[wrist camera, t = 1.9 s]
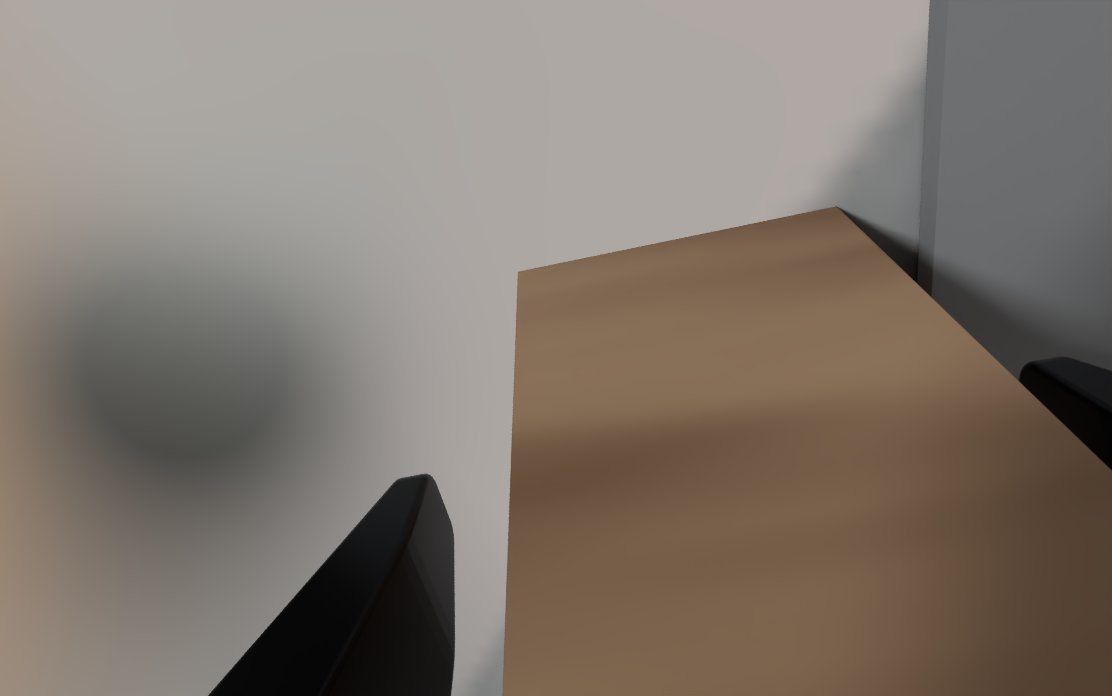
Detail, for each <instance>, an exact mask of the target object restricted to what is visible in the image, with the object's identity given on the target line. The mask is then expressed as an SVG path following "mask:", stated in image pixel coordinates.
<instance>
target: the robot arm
mask: <svg viewBox="0 0 1112 696" xmlns="http://www.w3.org/2000/svg"><path fill="white" fill-rule="evenodd" d="M1019 382H1020V383H1021V384H1022V385H1023V386H1024V387H1025V388H1026V389H1027V390H1028V391H1029V392H1030V393H1031V394H1032V395H1034V396H1035V397H1036V398H1037V399H1038V400H1039V401H1040V402H1041V403H1042V404H1043V405H1044V406H1045V407H1046V408H1047V409H1048V410H1049V411H1050V412H1051V413H1052V414H1053V415H1054V416H1055V417H1056V418H1057V419H1059V420H1060V421H1061V422H1062V423H1063V424H1064V425H1065V426H1066V427H1067V428H1068V429H1069V430H1070V431H1071V432H1072V433H1073V434H1074V435H1075V436H1076V437H1077V438H1078V439H1079V440H1080V441H1081V442H1082V443H1084V444H1085V445H1086V446H1087V447H1088V448H1089V449H1090V450H1091V451H1092V452H1093V453H1094V454H1095V455H1096V456H1097V457H1098V458H1099V459H1100V460H1101V461H1102V462H1103V463H1104V464H1105V465H1106V466H1107V467H1109V468H1110V469H1111V470H1112V371H1111V370H1108V369H1105V368H1102V367H1098V366H1095V365H1092V364H1089V363H1086V362H1083V361H1080V360H1076V359H1073V358H1070V357H1066V356H1058V357H1052V358H1047V359H1042V360H1036V361H1031V362H1029V363H1027V364H1025V365H1024V366H1023V368H1022V370H1021V372H1020V376H1019ZM454 595H455V593H454V534H453V528H452V524H451V521H450V518H449V516H448V513H447V510H446V508H445V505H444V503H443V500H442V498H441V495H440V492H439V490H438V487H437V485H436V482H435V480H434V479H433V477H432V476H430V475H428V474H421V475H416V476H410V477H405V478H400V479H398V480H396V481H395V482H394V483H393V485H391V487H390V488H389V489H388V490H387V491H386V492H385V493H384V495H383V496H382V497H381V498H380V499H379V500H378V502H377V503H376V504H375V505H374V506H373V507H372V508H371V510H370V511H369V512H368V513H367V514H366V515H365V516H364V518H363V519H362V520H361V521H360V522H359V523H358V524H357V526H356V527H355V528H354V529H353V530H352V531H351V533H350V534H349V535H348V536H347V537H346V538H345V539H344V541H343V542H342V543H341V544H340V545H339V546H338V548H336V550H335V551H334V552H333V553H332V554H331V555H330V557H329V558H328V559H327V560H326V561H325V562H324V563H323V565H322V566H321V567H320V568H319V569H318V570H317V572H316V573H315V574H314V575H313V576H312V577H311V578H310V579H309V581H308V582H307V583H306V584H305V585H304V586H303V588H302V589H301V590H300V591H299V592H298V593H297V594H296V595H295V597H294V598H293V599H292V600H291V601H290V602H289V603H288V605H287V606H286V607H285V608H284V609H283V611H282V612H281V613H280V614H279V615H278V616H277V617H276V618H275V620H274V621H273V622H272V623H271V624H270V625H269V626H268V628H267V629H266V630H265V631H264V632H263V633H262V634H261V636H260V637H259V638H258V639H257V640H256V641H255V643H254V644H253V645H252V646H251V647H250V648H249V649H248V650H247V652H246V653H245V654H244V655H243V656H242V657H241V659H240V660H239V661H238V662H237V663H236V664H235V665H234V667H233V668H232V669H231V670H230V671H229V672H228V673H227V675H226V676H225V677H224V678H223V679H222V680H221V681H220V683H219V684H218V685H217V686H216V687H215V688H214V689H213V691H212V692H211V693H210V694H209V695H208V696H451V690H452V681H453V670H454V657H455V656H454V655H455V602H454V601H455V600H454V597H455V596H454Z"/></svg>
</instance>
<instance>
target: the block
mask: <svg viewBox="0 0 1112 696" xmlns="http://www.w3.org/2000/svg"><path fill="white" fill-rule="evenodd" d="M512 425H513V426H512V451H511V479H510V506H509V508H510V509H509V532H508V563H507V587H506V615H505V642H504V669H503V696H1112V470H1111V469H1110V468H1109V467H1107V466H1106V465H1105V464H1104V463H1103V462H1102V461H1101V460H1100V459H1099V458H1098V457H1097V456H1096V455H1095V454H1094V453H1093V452H1092V451H1091V450H1090V449H1089V448H1088V447H1087V446H1086V445H1085V444H1084V443H1082V442H1081V441H1080V440H1079V439H1078V438H1077V437H1076V436H1075V435H1074V434H1073V433H1072V432H1071V431H1070V430H1069V429H1068V428H1067V427H1066V426H1065V425H1064V424H1063V423H1062V422H1061V421H1060V420H1059V419H1057V418H1056V417H1055V416H1054V415H1053V414H1052V413H1051V412H1050V411H1049V410H1048V409H1047V408H1046V407H1045V406H1044V405H1043V404H1042V403H1041V402H1040V401H1039V400H1038V399H1037V398H1036V397H1035V396H1034V395H1032V394H1031V393H1030V392H1029V391H1028V390H1027V389H1026V388H1025V387H1024V386H1023V385H1022V384H1021V383H1020V382H1019V381H1018V380H1017V379H1016V378H1015V377H1014V376H1013V375H1012V374H1011V373H1010V372H1008V371H1007V370H1006V369H1005V368H1004V367H1003V366H1002V365H1001V364H1000V363H999V362H998V361H997V360H996V359H995V358H994V357H993V356H992V355H991V354H990V353H989V352H988V351H987V350H986V349H985V348H983V347H982V346H981V345H980V344H979V343H978V342H977V341H976V340H975V339H974V338H973V337H972V336H971V335H970V334H969V333H968V332H967V331H966V330H965V329H964V328H963V327H962V326H961V325H960V324H958V323H957V322H956V321H955V320H954V319H953V318H952V317H951V316H950V315H949V314H948V313H947V312H946V311H945V310H944V309H943V308H942V307H941V306H940V305H939V304H938V303H937V302H936V301H934V300H933V299H932V298H931V297H930V296H929V295H928V294H927V293H926V292H925V291H924V290H923V289H922V288H921V287H920V286H919V285H918V284H917V283H916V282H915V281H914V280H913V279H912V278H911V277H909V276H908V275H907V274H906V273H905V272H904V271H903V270H902V269H901V268H900V267H899V266H898V265H897V264H896V263H895V262H894V261H893V260H892V259H891V258H890V257H889V256H888V255H887V254H886V253H884V252H883V251H882V250H881V249H880V248H879V247H878V246H877V245H876V244H875V243H874V242H873V241H872V240H871V239H870V238H869V237H868V236H867V235H866V234H865V233H864V232H863V231H862V230H860V229H859V228H858V227H857V226H856V225H855V224H854V223H853V222H852V221H851V220H850V219H849V218H848V217H847V216H846V215H845V214H844V213H843V212H842V211H841V210H840V209H839V208H838V207H837V206H836V207H832V208H827V209H822V210H817V211H812V212H807V213H802V214H797V215H793V216H788V217H783V218H778V219H773V220H768V221H763V222H759V223H754V224H749V225H744V226H739V227H735V228H730V229H724V230H720V231H715V232H710V233H705V234H700V235H695V236H691V237H685V238H681V239H676V240H671V241H666V242H661V243H657V244H651V245H646V246H642V247H637V248H632V249H627V250H622V251H617V252H612V253H608V254H603V255H598V256H593V257H589V258H584V259H579V260H574V261H569V262H564V263H559V264H554V265H549V266H544V267H539V268H534V269H530V270H525V271H520V272H518V286H517V313H516V341H515V368H514V397H513V424H512Z"/></svg>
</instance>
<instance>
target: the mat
mask: <svg viewBox="0 0 1112 696" xmlns="http://www.w3.org/2000/svg"><path fill="white" fill-rule="evenodd" d="M917 284H918V285H919V286H920V287H921V288H922V289H923V290H924V291H925V292H926V293H927V294H928V295H929V296H930V297H931V298H932V299H933V300H934V301H936V302H937V303H938V304H939V305H940V306H941V307H942V308H943V309H944V310H945V311H946V312H947V313H948V314H949V315H950V316H951V317H952V318H953V319H954V320H955V321H956V322H957V323H958V324H960V325H961V326H962V327H963V328H964V329H965V330H966V331H967V332H968V333H969V334H970V335H971V336H972V337H973V338H974V339H975V340H976V341H977V342H978V343H979V344H980V345H981V346H982V347H983V348H985V349H986V350H987V351H988V352H989V353H990V354H991V355H992V356H993V357H994V358H995V359H996V360H997V361H998V362H999V363H1000V364H1001V365H1002V366H1003V367H1004V368H1005V369H1006V370H1007V371H1008V372H1010V373H1011V374H1012V375H1013V376H1014V377H1015V378H1016V379H1017V380H1018V381H1019V376H1020V372H1021V370H1022V368H1023V366H1024V365H1025V364H1027V363H1029V362H1031V361H1036V360H1042V359H1047V358H1052V357H1058V356H1066V357H1070V358H1073V359H1076V360H1080V361H1083V362H1086V363H1089V364H1092V365H1095V366H1098V367H1102V368H1105V369H1108V370H1111V371H1112V0H930V9H929V31H928V53H927V75H926V97H925V120H924V142H923V164H922V186H921V208H920V230H919V253H918V275H917Z"/></svg>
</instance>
